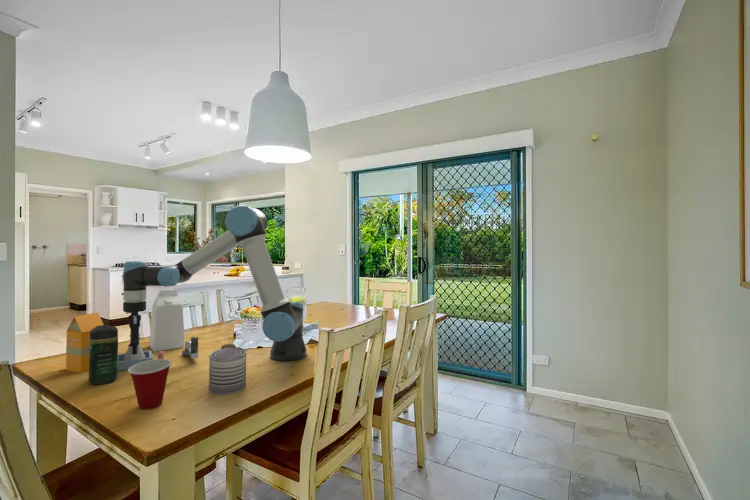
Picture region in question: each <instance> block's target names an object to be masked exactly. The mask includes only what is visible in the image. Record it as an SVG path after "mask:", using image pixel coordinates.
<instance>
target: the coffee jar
mask: <svg viewBox="0 0 750 500" xmlns="http://www.w3.org/2000/svg"><path fill="white" fill-rule="evenodd" d="M118 354H119V330H118V328H117V327H116V326H114V325H111V324H104V325H101V326H97V327H95V328H93V329H92V330H91V331H90V349H89V370H88V382H89V384H90V385H104V384H108V383H110V382H113V381H116V380H117V378H118V371H117V362H118Z"/></svg>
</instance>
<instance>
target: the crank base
mask: <svg viewBox="0 0 750 500" xmlns="http://www.w3.org/2000/svg"><path fill="white" fill-rule="evenodd" d="M181 356H182V357H190V355H189V354H188V352H187V351H185V349H184V350H182V351H181Z"/></svg>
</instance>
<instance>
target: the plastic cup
mask: <svg viewBox="0 0 750 500" xmlns="http://www.w3.org/2000/svg"><path fill="white" fill-rule="evenodd" d="M171 365H172V360H170V359H167V358H164V359H158V358H156V359H154V358H153V360H148V361H144V362H140V363H138V364H135V365H133V366H131V367H130V368H129V369H127V372H128V373H129V374H130V376H131V378H132V382H133V388H134V391H135V397H136V401H137V406H138V408H139V409H141V410H151V409H156V408H158V407H160V406H161V405H162V403H163V399H164V394H165V391H166V385H167V380H168V374H169V370H170V366H171Z"/></svg>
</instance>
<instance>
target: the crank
mask: <svg viewBox="0 0 750 500" xmlns="http://www.w3.org/2000/svg"><path fill="white" fill-rule="evenodd" d="M184 350H185V351H187V352H188V354H189V355H190V356H189V357H190V358H191V359H192V360H193V359H196V358H197V359H198V358H199V336H191V337H190V340H188V341H184Z"/></svg>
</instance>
